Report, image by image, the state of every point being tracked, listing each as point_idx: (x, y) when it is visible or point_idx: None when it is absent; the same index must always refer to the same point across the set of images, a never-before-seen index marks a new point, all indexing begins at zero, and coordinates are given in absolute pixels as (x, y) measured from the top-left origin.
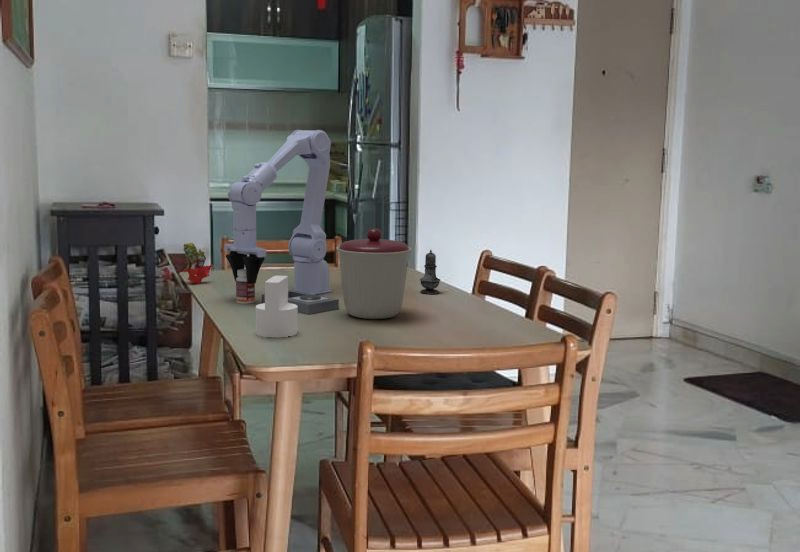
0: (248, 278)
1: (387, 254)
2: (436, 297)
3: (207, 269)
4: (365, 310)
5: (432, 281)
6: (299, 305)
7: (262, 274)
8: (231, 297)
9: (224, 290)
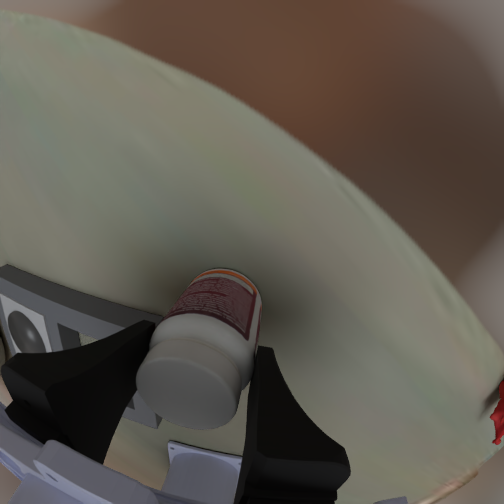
0: (126, 328)
1: None
2: None
3: (500, 426)
4: None
5: None
6: (12, 278)
7: (411, 493)
8: (340, 341)
9: (422, 393)
